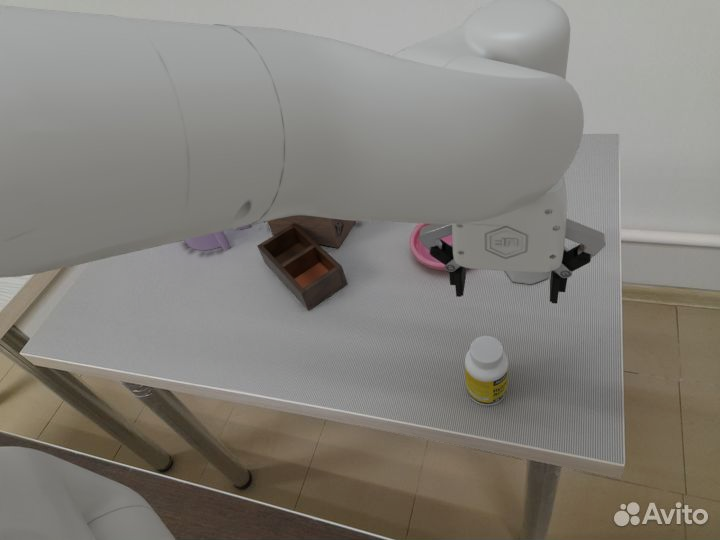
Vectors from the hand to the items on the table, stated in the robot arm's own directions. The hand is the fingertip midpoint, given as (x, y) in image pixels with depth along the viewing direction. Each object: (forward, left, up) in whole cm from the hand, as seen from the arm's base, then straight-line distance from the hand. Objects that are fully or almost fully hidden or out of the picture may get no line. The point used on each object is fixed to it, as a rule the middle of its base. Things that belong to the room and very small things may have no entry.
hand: (506, 289), depth 56 cm
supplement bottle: (-2, +1, -20) cm, 20 cm away
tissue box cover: (+6, +51, -20) cm, 55 cm away
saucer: (+12, +24, -20) cm, 34 cm away
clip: (-17, +65, -20) cm, 70 cm away
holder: (-9, +38, -20) cm, 44 cm away
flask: (+18, +12, -20) cm, 30 cm away
